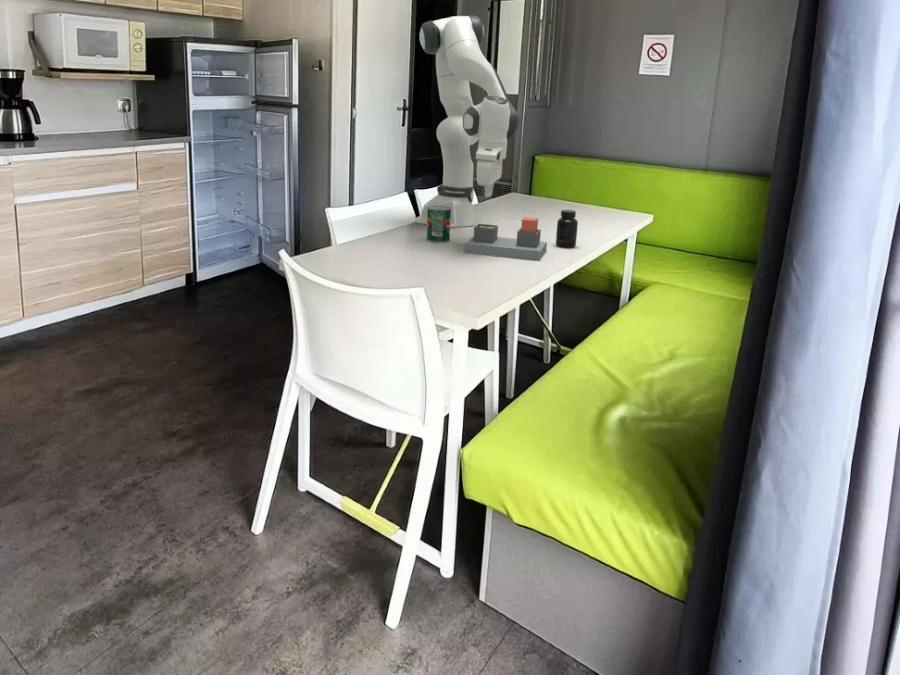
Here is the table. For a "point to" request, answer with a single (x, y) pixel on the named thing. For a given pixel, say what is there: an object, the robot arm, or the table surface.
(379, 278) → the table surface
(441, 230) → the canned tomato
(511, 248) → the button panel
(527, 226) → the red button
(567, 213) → the supplement bottle
